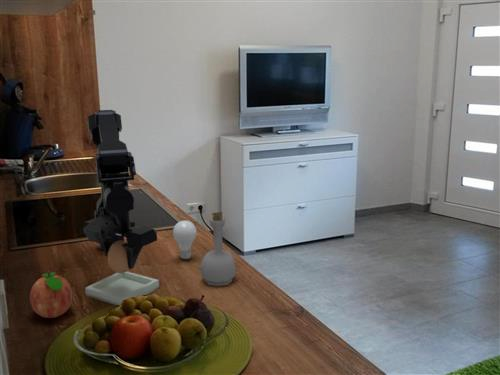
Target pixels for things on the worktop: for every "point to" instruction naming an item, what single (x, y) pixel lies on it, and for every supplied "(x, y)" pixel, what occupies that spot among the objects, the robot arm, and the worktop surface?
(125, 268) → the egg
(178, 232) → the lightbulb
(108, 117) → the robot arm
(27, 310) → the worktop surface
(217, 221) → the potion bottle
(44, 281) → the fruit
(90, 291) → the dish
